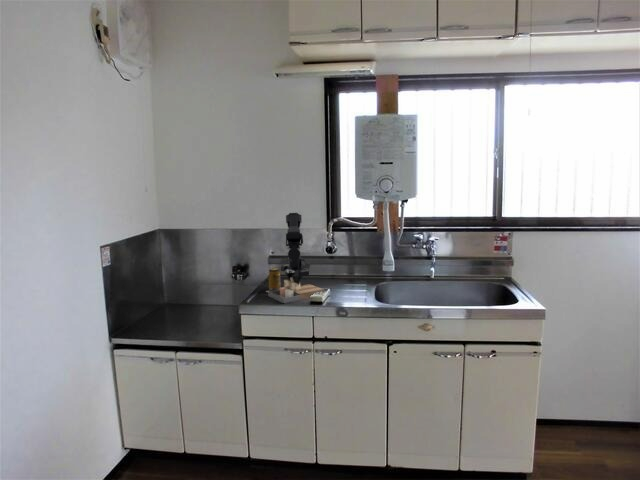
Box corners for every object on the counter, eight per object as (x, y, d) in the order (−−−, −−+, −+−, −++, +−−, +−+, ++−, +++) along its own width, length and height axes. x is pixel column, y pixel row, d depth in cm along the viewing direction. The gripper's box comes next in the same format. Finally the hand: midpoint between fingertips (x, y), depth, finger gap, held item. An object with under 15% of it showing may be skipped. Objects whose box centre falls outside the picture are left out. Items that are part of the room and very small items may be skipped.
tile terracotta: (284, 294, 227) (279, 295, 226) (284, 286, 227) (279, 287, 225) (288, 296, 224) (283, 297, 223) (287, 288, 224) (283, 289, 222)
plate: (285, 294, 231) (285, 288, 230) (309, 289, 238) (309, 284, 238) (299, 300, 219) (299, 294, 218) (324, 295, 227) (324, 289, 226)
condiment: (276, 289, 241) (276, 267, 239) (286, 292, 234) (285, 269, 233) (265, 291, 236) (264, 269, 235) (274, 294, 230) (273, 271, 228)
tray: (268, 296, 227) (268, 291, 226) (284, 293, 231) (284, 288, 231) (284, 303, 213) (283, 298, 213) (300, 300, 218) (300, 295, 218)
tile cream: (289, 297, 223) (285, 297, 222) (289, 289, 222) (284, 289, 221) (293, 298, 220) (289, 299, 218) (293, 290, 219) (288, 291, 218)
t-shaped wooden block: (284, 287, 229) (283, 276, 228) (293, 285, 231) (291, 274, 230) (296, 292, 219) (295, 280, 218) (305, 290, 221) (304, 278, 220)
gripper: (318, 257, 219) (319, 288, 222) (298, 251, 235) (299, 281, 237) (298, 259, 213) (299, 292, 216) (279, 254, 229) (280, 284, 231)
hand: (295, 287), depth 225 cm, fingers closed on t-shaped wooden block, 3 cm apart
